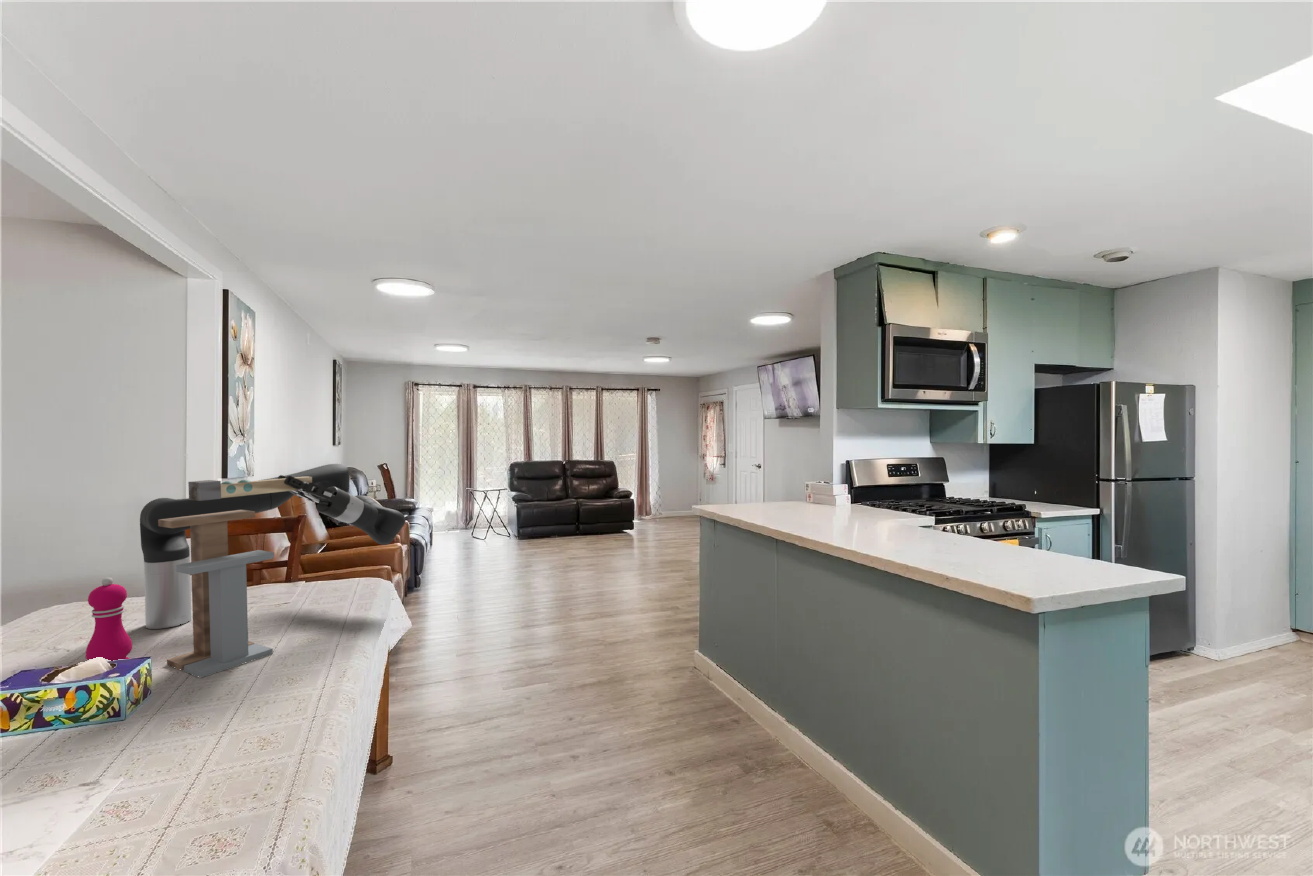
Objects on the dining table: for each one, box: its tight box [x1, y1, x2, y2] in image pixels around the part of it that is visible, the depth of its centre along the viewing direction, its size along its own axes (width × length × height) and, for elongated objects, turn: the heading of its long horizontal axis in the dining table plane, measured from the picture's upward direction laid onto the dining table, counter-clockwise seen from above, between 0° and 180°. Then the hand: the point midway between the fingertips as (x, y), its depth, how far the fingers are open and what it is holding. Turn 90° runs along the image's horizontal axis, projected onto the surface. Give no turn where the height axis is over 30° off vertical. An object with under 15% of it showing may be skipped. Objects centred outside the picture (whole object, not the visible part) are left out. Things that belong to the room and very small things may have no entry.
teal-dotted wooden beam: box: [187, 476, 312, 501], centre depth 136 cm, size 5×25×4 cm, turn 152°
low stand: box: [176, 549, 275, 679], centre depth 125 cm, size 7×16×23 cm, turn 152°
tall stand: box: [158, 510, 256, 671], centre depth 128 cm, size 7×16×32 cm, turn 152°
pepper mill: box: [85, 577, 133, 661], centre depth 121 cm, size 7×7×20 cm
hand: (282, 479), depth 142 cm, fingers closed on teal-dotted wooden beam, 3 cm apart
